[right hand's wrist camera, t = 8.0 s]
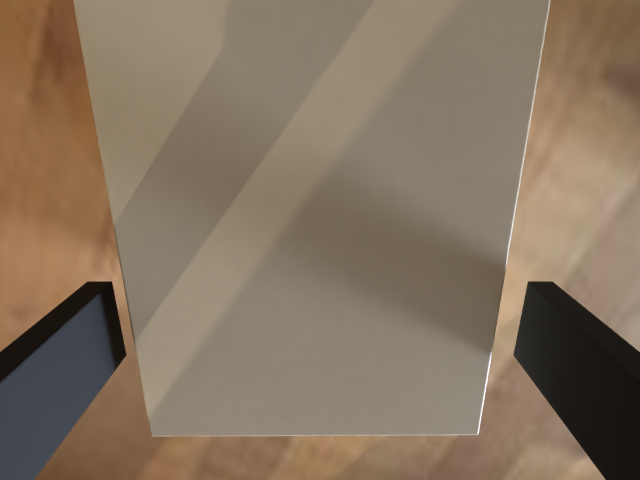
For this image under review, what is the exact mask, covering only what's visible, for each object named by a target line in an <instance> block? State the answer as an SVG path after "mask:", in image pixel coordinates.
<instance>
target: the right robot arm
mask: <svg viewBox="0 0 640 480" xmlns="http://www.w3.org/2000/svg"><path fill="white" fill-rule="evenodd" d="M125 356H126V351H125V346H124V341H123V336H122V330H121V325H120V320H119V315H118V310H117V305H116V300H115V295H114V290H113V285H112V282H87V283H85V284H84V285H83V286H82V287H80V288H79V289H78V290H77V291H75V292H74V293H73V294H72V295H70V296H69V297H68V298H67V299H65V300H64V301H63V302H62V303H61V304H59V305H58V306H57V307H56V308H54V309H53V310H52V311H51V312H49V313H48V314H47V315H46V316H44V317H43V318H42V319H41V320H39V321H38V322H37V323H36V324H35V325H33V326H32V327H31V328H30V329H28V330H27V331H26V332H25V333H23V334H22V335H21V336H20V337H18V338H17V339H16V340H15V341H14V342H12V343H11V344H10V345H9V346H7V347H6V348H5V349H4V350H2V351H1V352H0V480H34V479H35V478H36V476H37V475H38V474H39V472H40V471H41V470H42V468H43V467H44V466H45V464H46V463H47V462H48V460H49V459H50V458H51V456H52V455H53V453H54V452H55V451H56V449H57V448H58V447H59V445H60V444H61V443H62V441H63V440H64V439H65V437H66V436H67V435H68V433H69V432H70V431H71V429H72V428H73V426H74V425H75V424H76V422H77V421H78V420H79V418H80V417H81V416H82V414H83V413H84V412H85V410H86V409H87V408H88V406H89V405H90V404H91V402H92V401H93V400H94V398H95V397H96V395H97V394H98V393H99V391H100V390H101V389H102V387H103V386H104V385H105V383H106V382H107V381H108V379H109V378H110V377H111V375H112V374H113V373H114V371H115V370H116V368H117V367H118V366H119V364H120V363H121V362H122V360H123V359H124V358H125ZM514 356H515V358H516V359H517V360H518V362H519V363H520V364H521V366H522V367H523V368H524V370H525V371H526V373H527V374H528V375H529V377H530V378H531V379H532V381H533V382H534V383H535V385H536V386H537V387H538V389H539V390H540V391H541V393H542V394H543V395H544V397H545V398H546V400H547V401H548V402H549V404H550V405H551V406H552V408H553V409H554V410H555V412H556V413H557V414H558V416H559V417H560V418H561V420H562V421H563V422H564V424H565V425H566V426H567V428H568V429H569V431H570V432H571V433H572V435H573V436H574V437H575V439H576V440H577V441H578V443H579V444H580V445H581V447H582V448H583V449H584V451H585V452H586V453H587V455H588V456H589V458H590V459H591V460H592V462H593V463H594V464H595V466H596V467H597V468H598V470H599V471H600V472H601V474H602V475H603V476H604V478H605V479H606V480H640V352H639V351H638V350H636V349H635V348H634V347H633V346H631V345H630V344H629V343H628V342H626V341H625V340H624V339H623V338H622V337H620V336H619V335H618V334H617V333H615V332H614V331H613V330H612V329H610V328H609V327H608V326H607V325H605V324H604V323H603V322H602V321H601V320H599V319H598V318H597V317H596V316H594V315H593V314H592V313H591V312H589V311H588V310H587V309H586V308H584V307H583V306H582V305H581V304H579V303H578V302H577V301H576V300H575V299H573V298H572V297H571V296H570V295H568V294H567V293H566V292H565V291H563V290H562V289H561V288H560V287H558V286H557V285H556V284H555V283H553V282H528V285H527V290H526V295H525V300H524V305H523V310H522V315H521V320H520V325H519V330H518V336H517V341H516V346H515V351H514Z"/></svg>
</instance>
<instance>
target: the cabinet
mask: <svg viewBox="0 0 640 480" xmlns="http://www.w3.org/2000/svg"><path fill="white" fill-rule="evenodd" d="M550 2H551V0H73V3H74V9H75V14H76V20H77V26H78V31H79V37H80V42H81V48H82V54H83V59H84V65H85V70H86V76H87V82H88V87H89V93H90V98H91V104H92V109H93V115H94V121H95V126H96V132H97V137H98V143H99V149H100V154H101V160H102V165H103V171H104V177H105V182H106V188H107V193H108V199H109V204H110V210H111V216H112V221H113V227H114V232H115V238H116V244H117V249H118V255H119V260H120V266H121V271H122V277H123V283H124V288H125V294H126V299H127V305H128V311H129V316H130V322H131V327H132V333H133V339H134V344H135V350H136V355H137V361H138V366H139V372H140V378H141V383H142V389H143V394H144V400H145V406H146V411H147V417H148V422H149V428H150V434H151V436H354V435H477V434H478V432H479V426H480V420H481V414H482V408H483V403H484V397H485V391H486V385H487V379H488V373H489V367H490V361H491V355H492V349H493V343H494V337H495V331H496V325H497V319H498V313H499V307H500V301H501V295H502V289H503V283H504V277H505V271H506V265H507V259H508V253H509V247H510V241H511V235H512V229H513V223H514V217H515V211H516V205H517V199H518V193H519V187H520V181H521V175H522V169H523V163H524V157H525V151H526V145H527V139H528V133H529V127H530V121H531V115H532V109H533V103H534V97H535V91H536V85H537V79H538V73H539V67H540V61H541V55H542V49H543V43H544V37H545V31H546V25H547V19H548V13H549V8H550Z"/></svg>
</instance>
